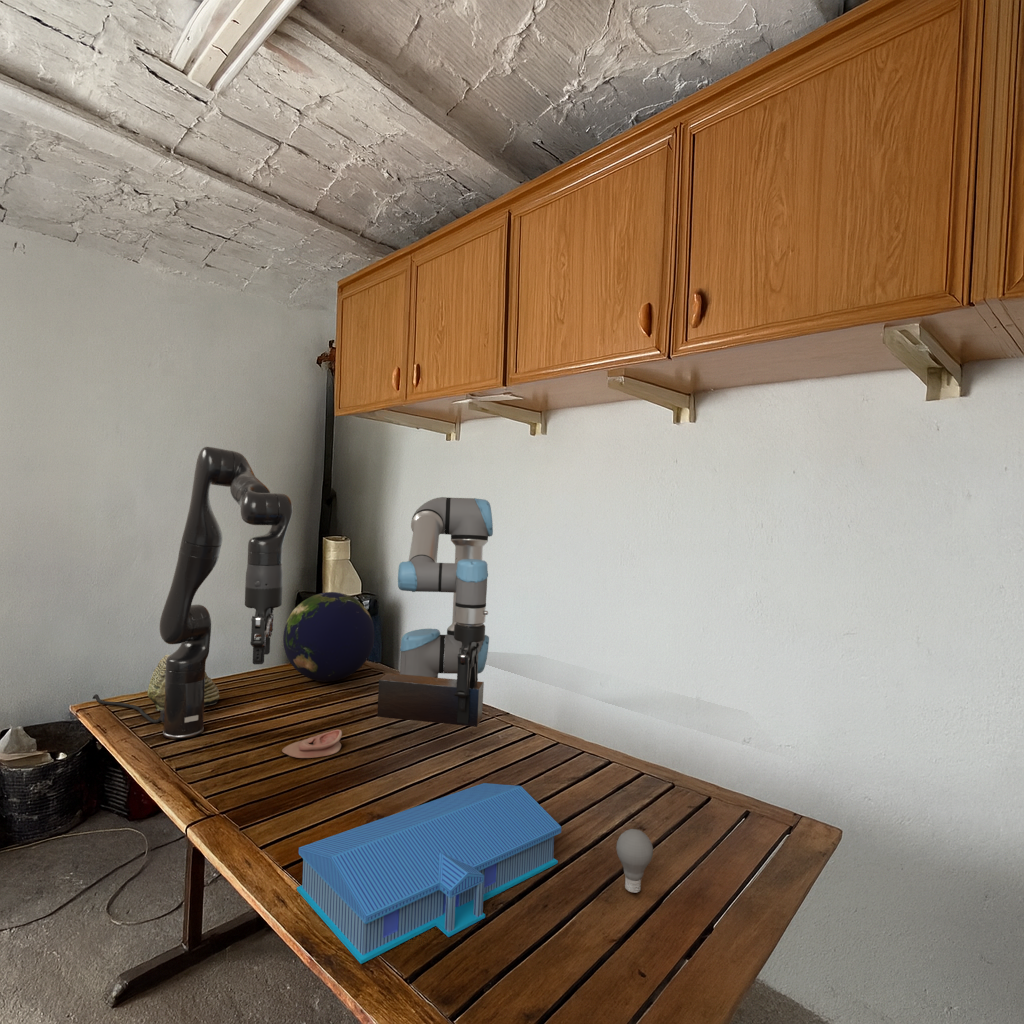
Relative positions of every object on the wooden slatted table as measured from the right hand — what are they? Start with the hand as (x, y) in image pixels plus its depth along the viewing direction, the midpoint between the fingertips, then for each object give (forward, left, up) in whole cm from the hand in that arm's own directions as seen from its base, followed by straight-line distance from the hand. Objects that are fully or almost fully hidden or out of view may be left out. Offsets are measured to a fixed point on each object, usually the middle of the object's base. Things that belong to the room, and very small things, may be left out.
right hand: (465, 717), depth 154 cm
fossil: (-24, -87, -11) cm, 91 cm away
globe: (-58, -56, -11) cm, 82 cm away
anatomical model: (0, -38, -11) cm, 40 cm away
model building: (+48, +3, -11) cm, 49 cm away
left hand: (+19, -43, +16) cm, 50 cm away
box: (-1, -9, -1) cm, 9 cm away
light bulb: (+46, +36, -11) cm, 59 cm away
